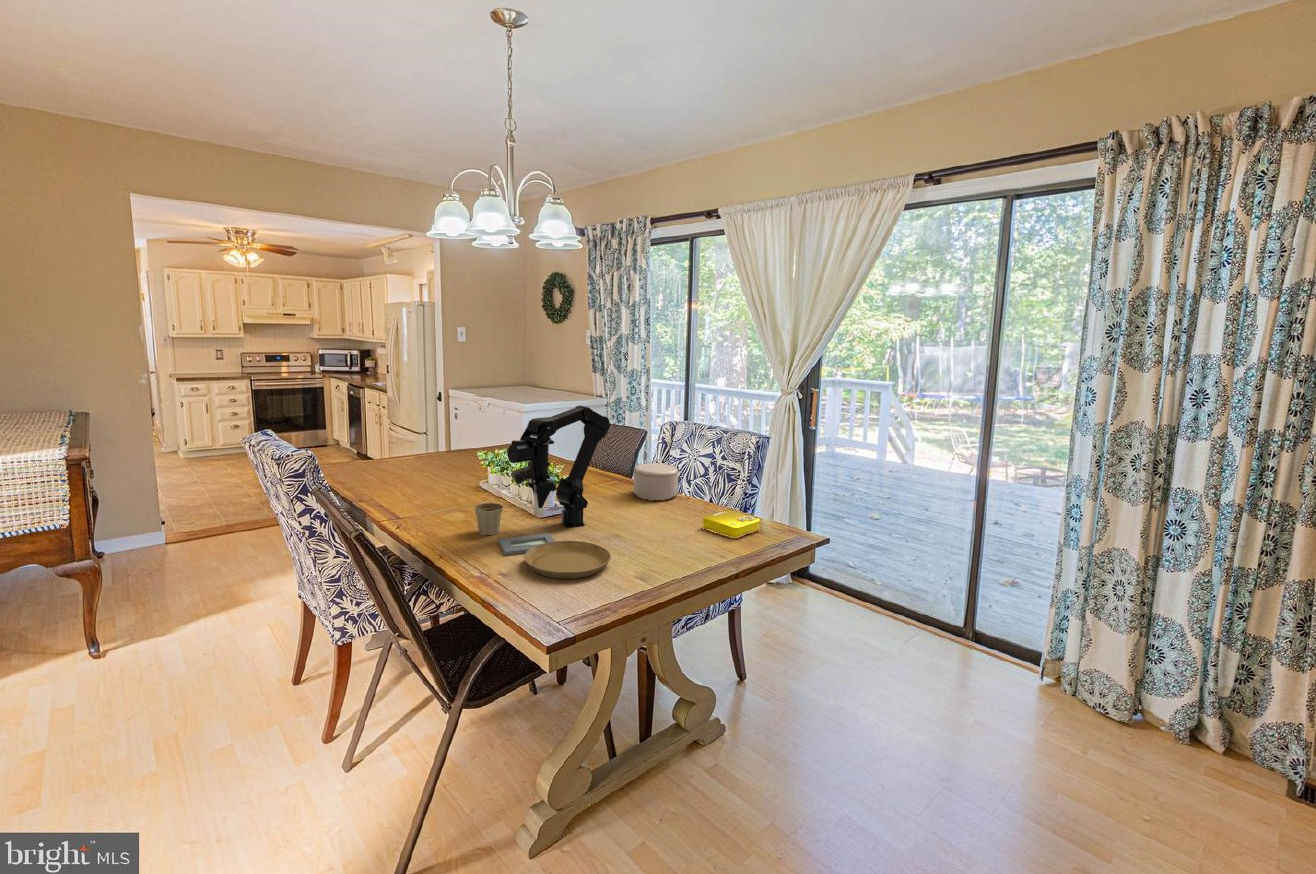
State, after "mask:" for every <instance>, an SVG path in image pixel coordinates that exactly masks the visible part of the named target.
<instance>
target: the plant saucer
mask: <svg viewBox="0 0 1316 874" xmlns="http://www.w3.org/2000/svg"><path fill="white" fill-rule="evenodd" d="M611 557H612V556H611V553H610V551H609V550H608V549H606V548H605V547H603V546H602V545H598V544H596V543H592V542H588V541H587V542H586V541H582V540H581V541H580V540H557V541H556V540H555V542H548V543H544V544H540V545H537V546H535V547H532V548H531V549H529V550H528V551H527V552H526V553H524V554H523V558H524V561H525V563H526V565H527V566H528V568H530V569H531V570H532V571H534V572H535V573H537V574H539V575H541V576H543V577H547V578H552V579H558V580H559V579H561V580H571V579H573V580H574V579H580V578H586V577H589V576H592V575H594V574H598V573H599V572H601V571H602V570H603V569H605V568H606V566H607V565H608V563H609V562H610V561H611Z"/></svg>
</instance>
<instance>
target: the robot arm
mask: <svg viewBox="0 0 1316 874" xmlns="http://www.w3.org/2000/svg"><path fill="white" fill-rule="evenodd" d="M579 421H580V422H581V423H582V424H584V426H583V434H584V438H583V440H582V443H581V444H580V448H579V450H578V452H577V455H576V456H575V460H574V462H573V465H572V467H571V469H570V471H569V473H568V476H567V477H566V478H560V480H559V481H558V486H557V484H556V483H555V482H554V481H553V480H552V479H551V475H550V473H549V467H551V462H550V461H549V460H550V459H549V457H550V455H549V453H550V452H549V451H550V449H549V448H550V445H554V444H555V441H554V440H553V439H552V438H551V437H552V436H553V435H555V434H556V432H557V431H559V429H560V430H561V429H562V428H564V427H566V426H570V425H573V424H575V423H576V422H579ZM610 428H611V423H610V420H609V417H607V416H604V415H601V414H599V413H598V412H596V411H594V410H593V409H591V408H590V407H588V406H585V405H576V406H575V407H573V408H570V409H568V410H566V411H562V412H560V413H557V414H554V415H552V416H548V417H547V416H545V417H544V416H543V417H536V418H532V419H530V420H528V423H527V426H526V428H525V430H524V431H523V433H522V435H521V436H520V438H519V440H511V444H510V445H509V446H508V448H507V451H506V453H507V459H508V461H509V462H510V463H512V464H518V463H523V462H527V466H524V467H521V468H518V469H516V470H513V471H512V472H510V474H511V476H512V478H513V481H514V483H515V484H516V485H519V484H522V483H524V482H526V484H527V485H528V486H529V487H530V488H531V490H532V494H533V496H534V491H535V492H536V495H537V501H538V507H539V508H542V507H543V505H544V506H545V503H546V501H547V499H548V497H549V495H550V493H551V492H555V491H556V492H555V495H556V499H557V500H558V503H559V505H560V506H562V510H561V514H560V515H561V517H560V518H561V520H560V521H561V523H562V524H563V525H564V526H565V528H573V527H574V528H575V527H582V526H583V527H584V526H585V522H584V510H585V509H586V508H587V507H588V503H589V501H588V500H587V499H586V498H585V497H584V496H583V493H584V482H583V481H584V479H585V476H586V475H587V471H588V468H589V467H590V466H589V465H590V463H591V460H592V459H593V456H594V453H595V451H596V449H597V447H598V443H599V442H601V441H602V439H604V438H605V437H606V436H607V434H608V432H609V430H610ZM528 480H529V481H528Z"/></svg>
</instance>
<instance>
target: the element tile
mask: <svg viewBox="0 0 1316 874" xmlns="http://www.w3.org/2000/svg"><path fill="white" fill-rule="evenodd" d="M701 527H703V528H704V529H710V530H713V531H716V532H719V533H722V534H725V535H728V536H732V537H737V536H740V535H743V534H746V533H748V532H751V531H754V530H757V529H759V530H760V527H761V519H760V518H758V517H754V516H751V515H747V514H744V513H740V512H737V511H734V510H730V509H728V510H723V511H719V512H716V513H712V514H709V515H704V516H703V517H702V525H701ZM703 528H702V529H703ZM704 529H703V530H704Z"/></svg>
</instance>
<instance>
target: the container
mask: <svg viewBox="0 0 1316 874" xmlns="http://www.w3.org/2000/svg"><path fill="white" fill-rule="evenodd" d="M632 485H633V486H632V487H633V494H635V495H636V496H637V498H639V497H640V498H639V499H641V498H643V499H642V500H645V499H648V500H647V501H653V500H662V501H666V500H665V499H669V498H671V497H673V496H674V497H675V496H678V491H679V490H678V488H679V470H678V468H677V467H675V466H674V465H671V464H666V463H660V462H659V463H658V462H657V463H655V462H653V463H652V462H649V463H642V464H638V465H636V466H634V468H633V484H632ZM674 497H673V498H674ZM669 500H670V499H669Z"/></svg>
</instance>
